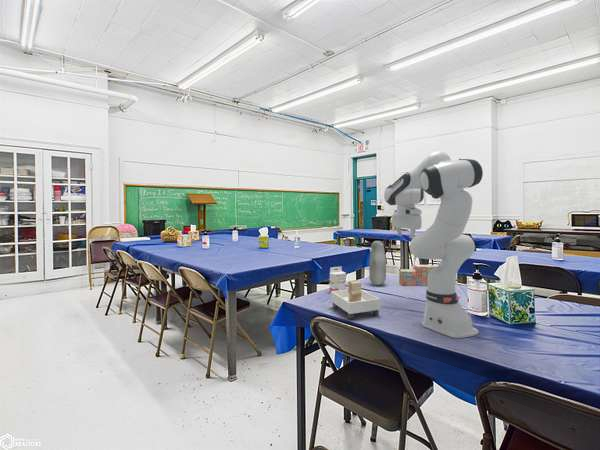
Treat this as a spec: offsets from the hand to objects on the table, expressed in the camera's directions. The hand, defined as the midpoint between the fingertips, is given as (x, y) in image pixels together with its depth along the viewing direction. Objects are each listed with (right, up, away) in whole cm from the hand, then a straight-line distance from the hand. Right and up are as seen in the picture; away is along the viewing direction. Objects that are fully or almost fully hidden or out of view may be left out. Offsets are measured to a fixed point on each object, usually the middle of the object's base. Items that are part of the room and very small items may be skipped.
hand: (405, 236), depth 171 cm
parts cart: (-29, -36, -13) cm, 47 cm away
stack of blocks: (+18, -32, +34) cm, 50 cm away
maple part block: (-29, -31, -13) cm, 44 cm away
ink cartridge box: (-33, -33, +21) cm, 51 cm away
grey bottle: (-6, -32, +35) cm, 48 cm away
